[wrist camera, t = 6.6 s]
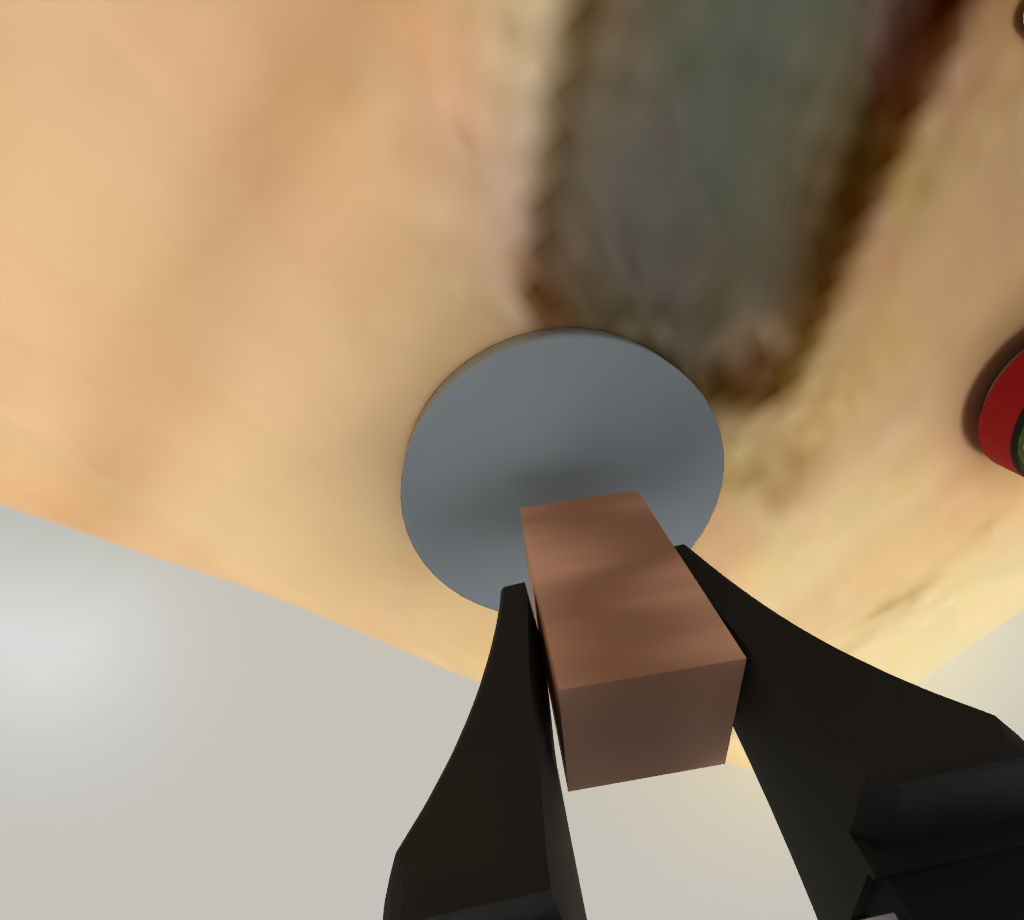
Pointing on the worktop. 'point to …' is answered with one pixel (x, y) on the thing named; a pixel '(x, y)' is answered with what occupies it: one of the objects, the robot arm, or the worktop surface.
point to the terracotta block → (627, 643)
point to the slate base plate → (552, 450)
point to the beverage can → (1005, 417)
